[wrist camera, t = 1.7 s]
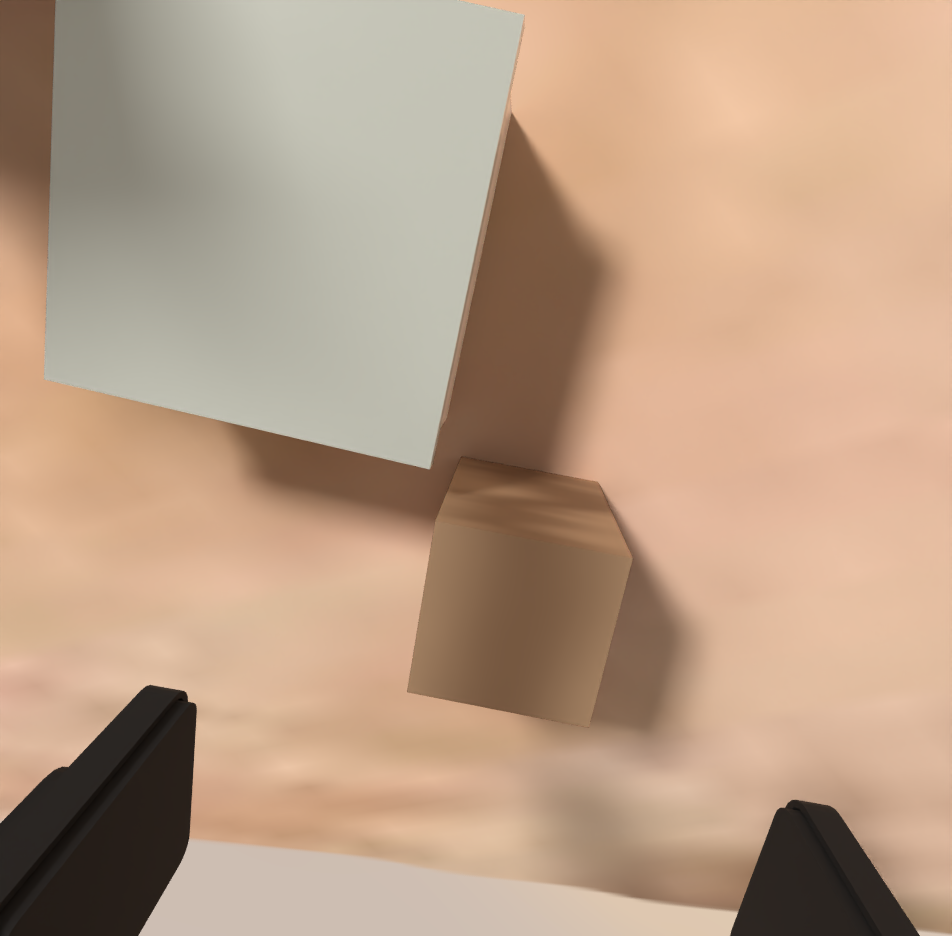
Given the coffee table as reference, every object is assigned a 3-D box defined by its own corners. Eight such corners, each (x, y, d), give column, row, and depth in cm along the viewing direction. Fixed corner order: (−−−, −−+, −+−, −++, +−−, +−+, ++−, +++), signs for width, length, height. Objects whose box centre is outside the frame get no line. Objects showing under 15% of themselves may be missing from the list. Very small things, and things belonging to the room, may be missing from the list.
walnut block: (597, 481, 22) (632, 558, 15) (568, 605, 23) (588, 727, 16) (461, 456, 22) (434, 521, 15) (440, 581, 23) (407, 692, 16)
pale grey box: (523, 105, 19) (524, 14, 13) (453, 427, 22) (429, 469, 16) (198, 32, 19) (58, -89, 13) (170, 361, 22) (43, 379, 16)
